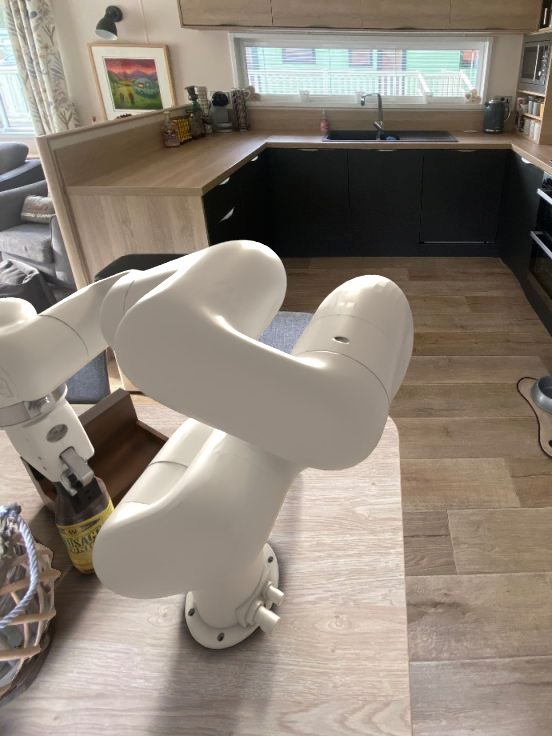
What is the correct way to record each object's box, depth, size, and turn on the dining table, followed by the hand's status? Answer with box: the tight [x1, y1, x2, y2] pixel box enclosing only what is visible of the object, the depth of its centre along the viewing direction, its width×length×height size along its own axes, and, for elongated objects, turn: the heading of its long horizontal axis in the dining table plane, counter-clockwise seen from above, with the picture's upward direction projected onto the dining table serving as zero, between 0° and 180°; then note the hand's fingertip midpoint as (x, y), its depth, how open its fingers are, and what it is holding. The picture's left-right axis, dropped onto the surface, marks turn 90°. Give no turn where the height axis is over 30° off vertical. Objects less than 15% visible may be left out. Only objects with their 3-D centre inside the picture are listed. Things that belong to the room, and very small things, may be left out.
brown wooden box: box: [19, 387, 170, 514], centre depth 69 cm, size 12×16×12 cm
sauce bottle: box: [50, 458, 114, 575], centre depth 57 cm, size 6×6×20 cm
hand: (68, 487), depth 54 cm, fingers open, 9 cm apart
